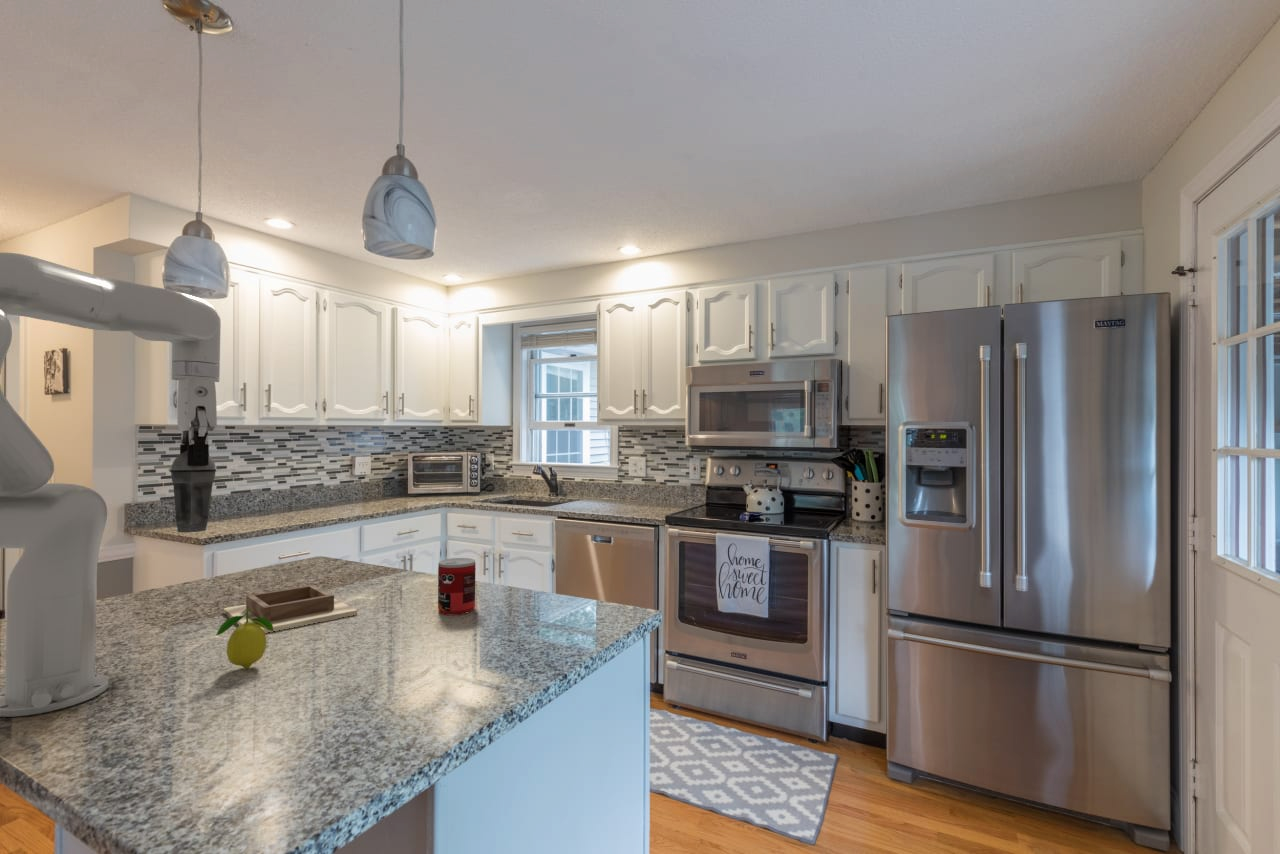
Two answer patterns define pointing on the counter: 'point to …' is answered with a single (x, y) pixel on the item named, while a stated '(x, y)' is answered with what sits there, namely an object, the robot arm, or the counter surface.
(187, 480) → the beverage cup
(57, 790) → the counter surface
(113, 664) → the counter surface
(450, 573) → the canned food
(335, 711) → the counter surface
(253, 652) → the lemon
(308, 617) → the cup holder
